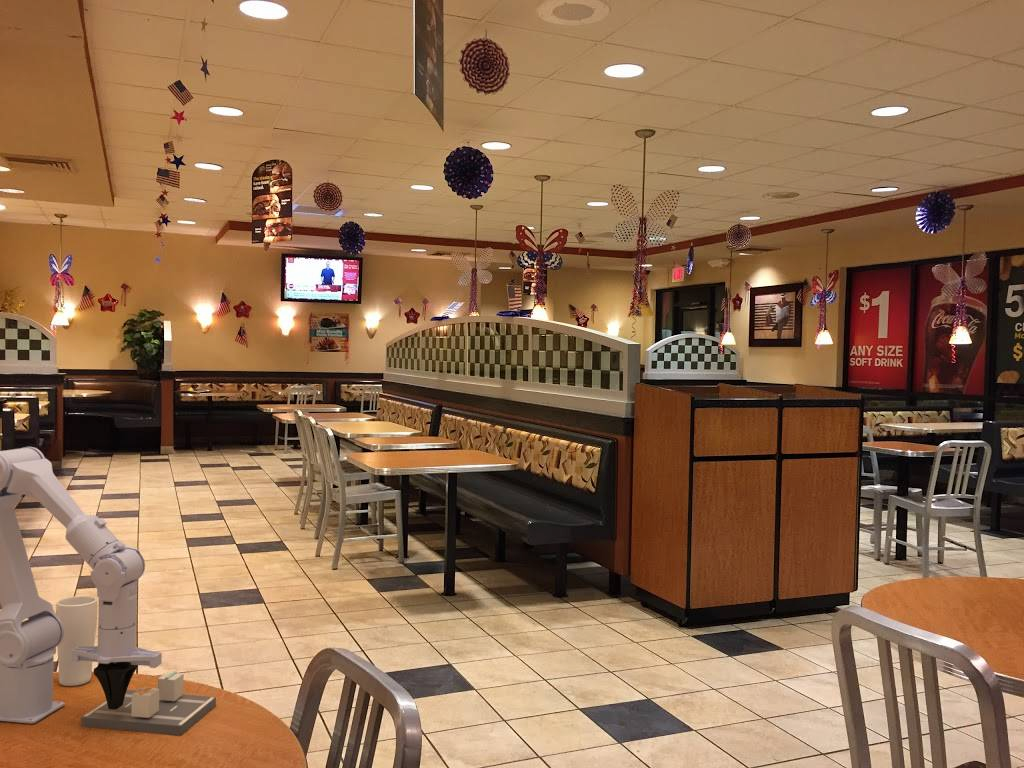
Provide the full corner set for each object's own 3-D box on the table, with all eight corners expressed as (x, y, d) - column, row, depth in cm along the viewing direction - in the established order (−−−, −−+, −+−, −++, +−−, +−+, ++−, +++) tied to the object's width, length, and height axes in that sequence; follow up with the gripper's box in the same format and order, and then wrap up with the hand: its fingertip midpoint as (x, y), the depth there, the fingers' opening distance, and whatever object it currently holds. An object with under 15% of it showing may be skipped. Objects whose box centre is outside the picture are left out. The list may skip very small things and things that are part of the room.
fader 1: (131, 716, 138) (131, 692, 137) (141, 708, 141) (142, 685, 140) (148, 717, 137) (149, 693, 137) (158, 710, 140) (159, 686, 140)
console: (81, 726, 138) (81, 716, 138) (123, 697, 149) (123, 689, 149) (180, 735, 136) (180, 725, 135) (215, 705, 147) (216, 696, 147)
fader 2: (157, 699, 144) (158, 676, 144) (166, 693, 147) (167, 670, 147) (174, 701, 144) (174, 678, 144) (183, 694, 147) (183, 672, 147)
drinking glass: (78, 690, 152) (80, 607, 152) (45, 686, 153) (47, 603, 153) (104, 677, 159) (105, 597, 158) (72, 673, 160) (73, 594, 160)
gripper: (60, 628, 136) (58, 713, 136) (145, 635, 134) (143, 720, 135) (87, 616, 143) (85, 696, 143) (169, 621, 141) (167, 703, 142)
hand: (115, 706), depth 139 cm, fingers closed
